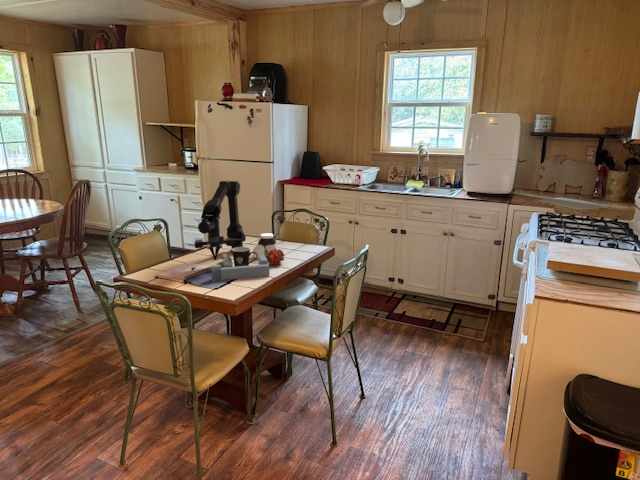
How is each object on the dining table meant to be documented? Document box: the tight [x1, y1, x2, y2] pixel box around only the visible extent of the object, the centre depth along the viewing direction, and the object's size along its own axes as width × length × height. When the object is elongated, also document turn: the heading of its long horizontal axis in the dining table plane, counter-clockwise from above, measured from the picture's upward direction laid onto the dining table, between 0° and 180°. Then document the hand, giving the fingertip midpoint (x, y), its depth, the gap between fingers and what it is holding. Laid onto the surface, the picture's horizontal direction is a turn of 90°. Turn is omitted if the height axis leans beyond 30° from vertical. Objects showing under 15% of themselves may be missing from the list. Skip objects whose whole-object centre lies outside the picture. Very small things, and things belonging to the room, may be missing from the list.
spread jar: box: [252, 232, 278, 259], centre depth 240 cm, size 12×11×12 cm
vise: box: [211, 255, 270, 281], centre depth 212 cm, size 14×26×6 cm, turn 106°
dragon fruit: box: [266, 248, 285, 266], centre depth 227 cm, size 8×8×12 cm
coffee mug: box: [231, 246, 258, 267], centre depth 218 cm, size 12×9×10 cm
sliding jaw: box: [221, 253, 234, 268], centre depth 220 cm, size 25×4×6 cm, turn 16°
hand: (215, 259), depth 223 cm, fingers closed
